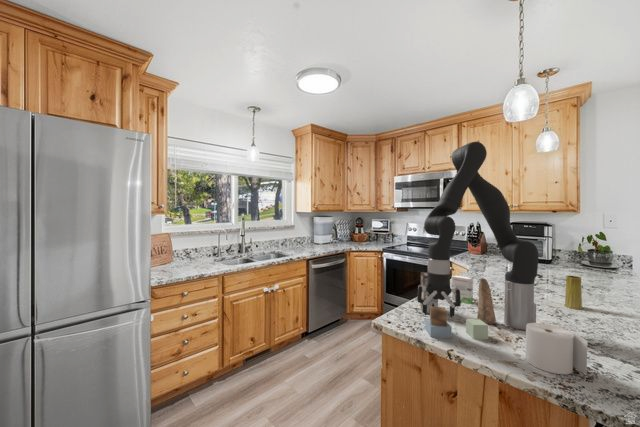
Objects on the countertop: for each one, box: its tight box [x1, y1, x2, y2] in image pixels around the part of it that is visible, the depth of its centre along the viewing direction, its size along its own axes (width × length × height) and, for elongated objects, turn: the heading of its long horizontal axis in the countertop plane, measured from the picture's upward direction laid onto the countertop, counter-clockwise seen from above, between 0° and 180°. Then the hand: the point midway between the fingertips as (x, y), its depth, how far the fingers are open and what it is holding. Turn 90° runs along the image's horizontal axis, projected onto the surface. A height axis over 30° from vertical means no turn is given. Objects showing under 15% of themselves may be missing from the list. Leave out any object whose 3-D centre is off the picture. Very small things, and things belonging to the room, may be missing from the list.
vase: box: [564, 275, 583, 310], centre depth 128 cm, size 6×6×14 cm
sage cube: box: [465, 318, 489, 340], centre depth 98 cm, size 5×5×5 cm
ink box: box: [451, 275, 474, 304], centre depth 136 cm, size 9×5×12 cm, turn 44°
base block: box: [424, 318, 453, 339], centre depth 100 cm, size 7×7×4 cm
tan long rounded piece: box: [476, 277, 497, 325], centre depth 110 cm, size 6×18×6 cm
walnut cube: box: [429, 306, 448, 327], centre depth 100 cm, size 5×5×5 cm
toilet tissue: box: [524, 322, 589, 376], centre depth 80 cm, size 11×12×10 cm
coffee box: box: [419, 271, 439, 314], centre depth 123 cm, size 9×6×16 cm
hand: (438, 315), depth 99 cm, fingers open, 8 cm apart
